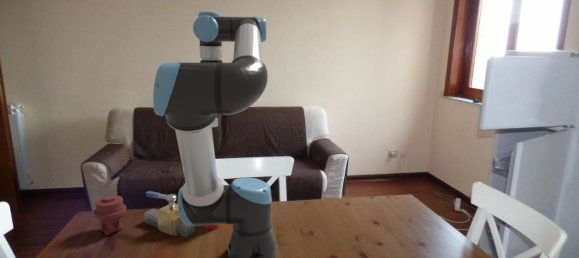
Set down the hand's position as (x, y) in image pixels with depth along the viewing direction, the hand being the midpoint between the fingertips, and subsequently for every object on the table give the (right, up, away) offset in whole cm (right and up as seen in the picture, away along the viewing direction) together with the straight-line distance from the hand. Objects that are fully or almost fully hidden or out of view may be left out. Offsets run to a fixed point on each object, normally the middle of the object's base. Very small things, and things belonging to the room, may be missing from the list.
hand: (213, 126), depth 131 cm
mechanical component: (-34, -36, -4) cm, 50 cm away
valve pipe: (-15, -36, -2) cm, 39 cm away
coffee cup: (0, -36, 0) cm, 36 cm away
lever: (-17, -25, -4) cm, 31 cm away
